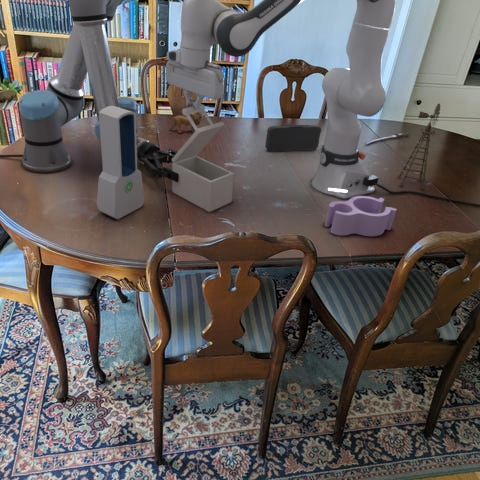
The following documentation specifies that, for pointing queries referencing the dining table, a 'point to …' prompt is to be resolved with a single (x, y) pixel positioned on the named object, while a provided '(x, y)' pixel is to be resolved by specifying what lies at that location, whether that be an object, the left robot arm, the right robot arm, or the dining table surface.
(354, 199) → the clip
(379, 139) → the sword
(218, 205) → the chest
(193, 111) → the lid
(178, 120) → the lion figurine
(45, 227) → the dining table surface
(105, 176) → the electronic device
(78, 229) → the dining table surface
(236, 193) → the dining table surface
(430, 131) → the miniature windmill
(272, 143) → the handheld gaming console
